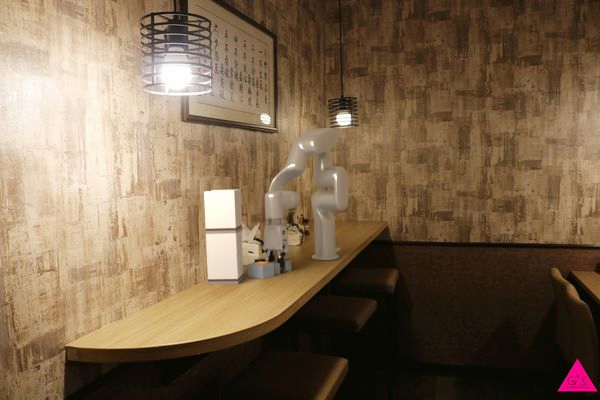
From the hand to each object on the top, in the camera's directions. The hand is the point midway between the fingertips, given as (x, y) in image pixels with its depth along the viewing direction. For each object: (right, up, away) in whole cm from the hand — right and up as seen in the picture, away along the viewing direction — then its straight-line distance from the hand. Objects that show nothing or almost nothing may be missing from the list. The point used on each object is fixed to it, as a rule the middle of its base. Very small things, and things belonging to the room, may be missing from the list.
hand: (276, 266), depth 211 cm
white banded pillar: (-19, -4, -14) cm, 23 cm away
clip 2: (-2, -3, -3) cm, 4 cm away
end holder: (-5, -3, -6) cm, 9 cm away
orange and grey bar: (-1, -2, -1) cm, 3 cm away
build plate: (-7, -3, +10) cm, 13 cm away
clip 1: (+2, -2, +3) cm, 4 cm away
